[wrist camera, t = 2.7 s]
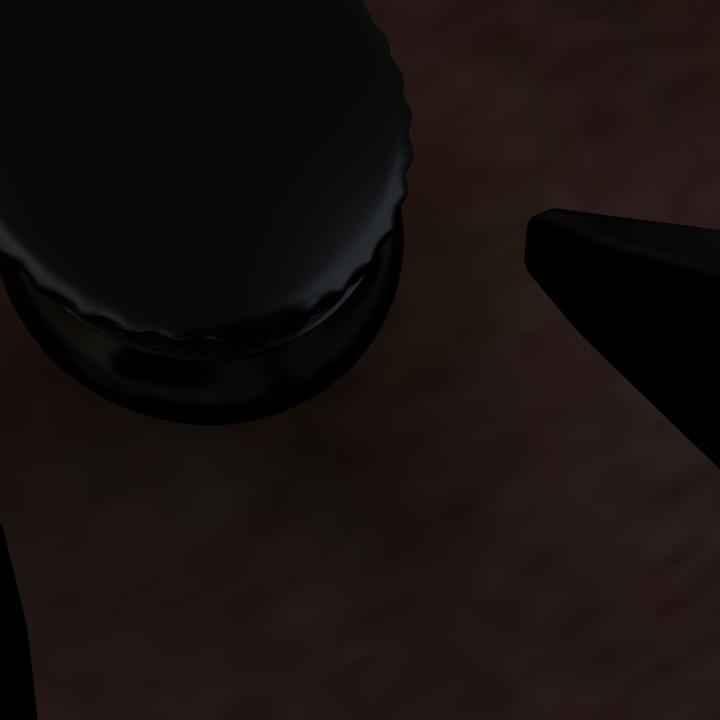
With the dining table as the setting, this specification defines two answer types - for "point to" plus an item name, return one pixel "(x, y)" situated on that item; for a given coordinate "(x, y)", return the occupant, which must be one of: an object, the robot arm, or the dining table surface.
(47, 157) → the supplement bottle
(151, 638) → the dining table surface
